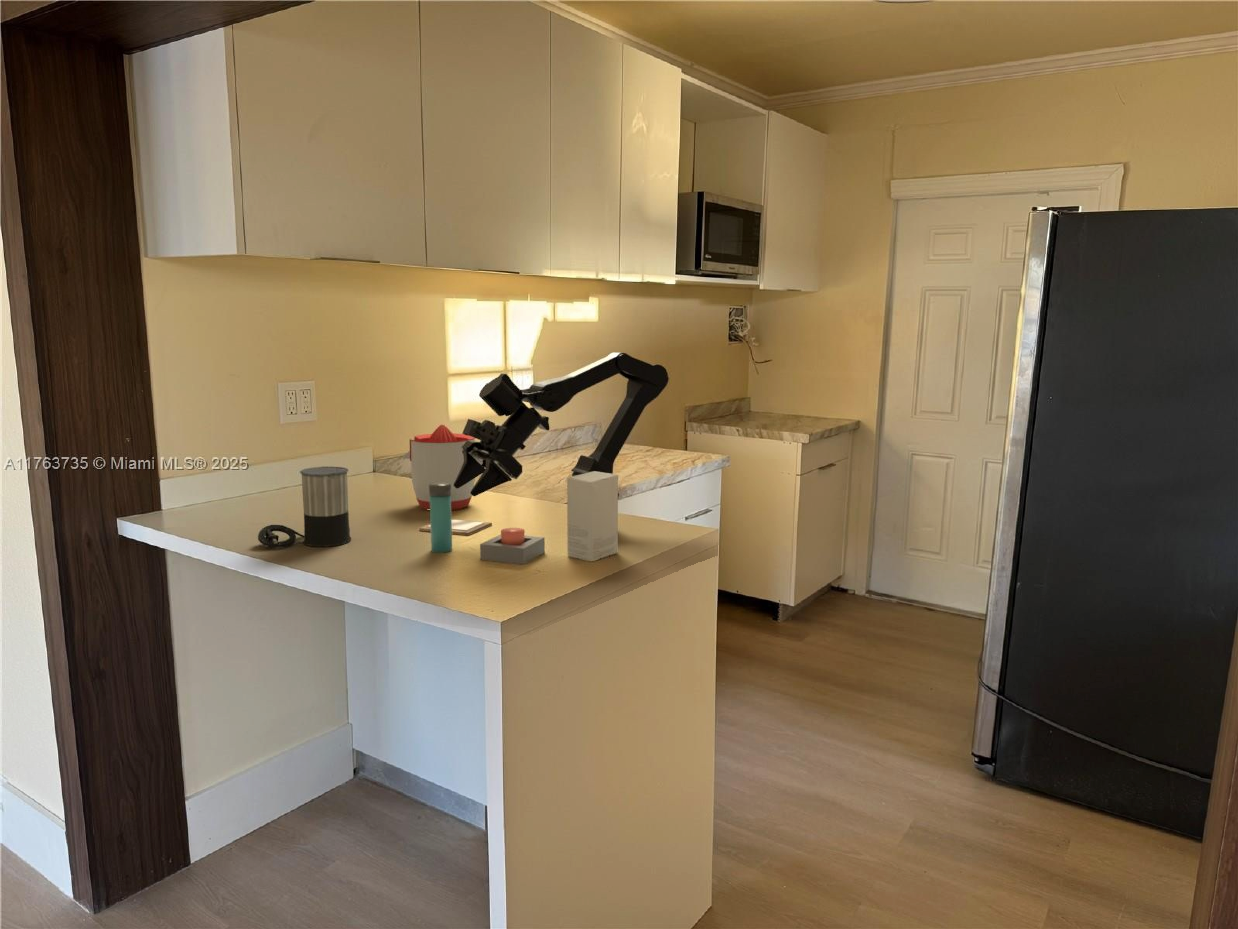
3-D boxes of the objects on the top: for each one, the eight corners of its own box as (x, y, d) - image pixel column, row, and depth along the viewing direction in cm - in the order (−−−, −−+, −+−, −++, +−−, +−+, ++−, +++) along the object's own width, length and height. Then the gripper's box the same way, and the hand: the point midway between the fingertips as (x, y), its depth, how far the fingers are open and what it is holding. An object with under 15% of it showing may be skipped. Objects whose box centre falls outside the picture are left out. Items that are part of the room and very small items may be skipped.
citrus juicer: (411, 500, 213) (408, 420, 210) (480, 500, 214) (479, 420, 211) (397, 513, 198) (394, 428, 195) (472, 513, 199) (470, 428, 195)
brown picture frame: (491, 525, 187) (491, 521, 187) (468, 535, 177) (468, 531, 177) (444, 520, 191) (444, 517, 191) (419, 530, 182) (419, 527, 181)
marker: (456, 548, 167) (455, 483, 165) (445, 553, 163) (443, 487, 161) (438, 546, 169) (436, 481, 167) (426, 551, 165) (424, 485, 163)
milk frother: (361, 540, 173) (358, 468, 171) (293, 557, 160) (288, 480, 158) (317, 531, 181) (314, 462, 179) (249, 546, 168) (244, 472, 166)
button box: (544, 552, 164) (544, 537, 164) (523, 564, 156) (523, 548, 156) (503, 548, 167) (502, 533, 167) (480, 559, 159) (480, 544, 159)
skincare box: (594, 548, 168) (594, 470, 165) (620, 554, 164) (620, 474, 161) (565, 556, 161) (565, 476, 159) (591, 563, 157) (591, 480, 155)
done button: (528, 544, 163) (528, 528, 162) (518, 549, 159) (517, 534, 158) (507, 542, 164) (507, 526, 164) (497, 547, 160) (496, 532, 160)
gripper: (470, 400, 175) (419, 457, 171) (506, 408, 159) (451, 471, 155) (506, 436, 180) (457, 492, 176) (545, 447, 164) (492, 509, 160)
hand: (463, 490), depth 167 cm, fingers open, 9 cm apart
